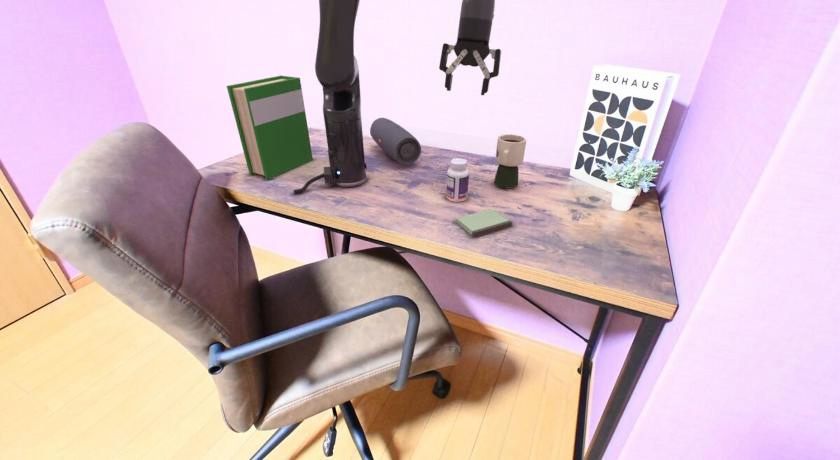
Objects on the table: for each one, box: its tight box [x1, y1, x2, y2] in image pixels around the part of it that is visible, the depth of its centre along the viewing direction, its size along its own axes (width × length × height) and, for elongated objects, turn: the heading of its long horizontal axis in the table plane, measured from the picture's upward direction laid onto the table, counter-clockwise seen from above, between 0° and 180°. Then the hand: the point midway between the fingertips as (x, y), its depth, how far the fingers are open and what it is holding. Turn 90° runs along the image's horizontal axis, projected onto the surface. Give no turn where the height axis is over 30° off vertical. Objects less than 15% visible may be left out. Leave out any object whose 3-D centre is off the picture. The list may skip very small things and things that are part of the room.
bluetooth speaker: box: [369, 117, 422, 166], centre depth 115 cm, size 23×9×10 cm, turn 25°
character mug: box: [493, 133, 527, 189], centre depth 96 cm, size 11×7×13 cm, turn 152°
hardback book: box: [226, 75, 314, 181], centre depth 104 cm, size 18×7×24 cm, turn 150°
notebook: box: [455, 208, 513, 238], centre depth 82 cm, size 10×7×1 cm
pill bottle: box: [445, 157, 470, 203], centre depth 91 cm, size 5×5×10 cm
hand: (465, 92), depth 92 cm, fingers open, 8 cm apart
